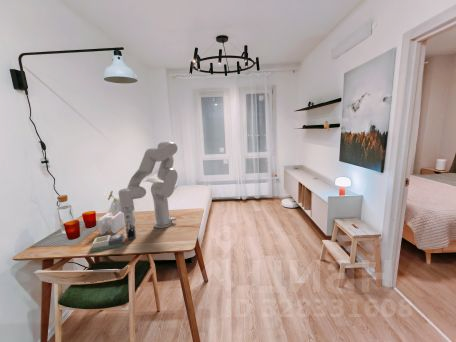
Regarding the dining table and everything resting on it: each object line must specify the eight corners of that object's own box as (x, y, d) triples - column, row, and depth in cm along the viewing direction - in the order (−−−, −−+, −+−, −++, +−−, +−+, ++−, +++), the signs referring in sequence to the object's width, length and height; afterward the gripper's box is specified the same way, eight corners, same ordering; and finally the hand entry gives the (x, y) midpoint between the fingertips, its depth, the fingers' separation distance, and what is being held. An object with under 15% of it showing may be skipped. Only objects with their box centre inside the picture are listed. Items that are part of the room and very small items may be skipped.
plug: (136, 235, 142) (134, 224, 140) (135, 238, 138) (133, 227, 136) (127, 237, 140) (126, 225, 139) (127, 240, 136) (125, 228, 135)
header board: (124, 237, 140) (123, 231, 139) (121, 246, 129) (120, 240, 128) (96, 242, 135) (95, 236, 135) (91, 252, 124) (90, 245, 123)
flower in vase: (114, 217, 173) (109, 187, 168) (128, 216, 174) (124, 186, 169) (106, 224, 161) (101, 192, 156) (122, 223, 162) (117, 191, 157)
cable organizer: (114, 235, 143) (111, 219, 141) (98, 236, 143) (95, 220, 141) (125, 225, 158) (123, 210, 155) (111, 226, 158) (108, 211, 156)
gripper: (132, 211, 128) (137, 239, 132) (135, 203, 144) (138, 228, 148) (119, 214, 126) (123, 242, 130) (122, 204, 142) (126, 230, 145)
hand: (131, 234), depth 139 cm, fingers closed on plug, 4 cm apart
